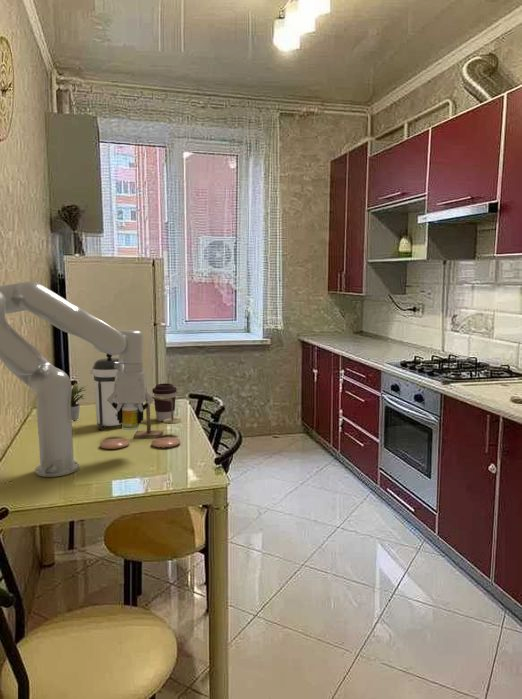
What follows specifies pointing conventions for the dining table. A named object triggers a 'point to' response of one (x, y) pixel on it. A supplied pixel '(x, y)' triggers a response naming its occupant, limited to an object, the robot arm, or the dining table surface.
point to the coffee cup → (164, 406)
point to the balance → (150, 433)
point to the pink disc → (114, 443)
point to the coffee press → (105, 391)
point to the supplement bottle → (130, 417)
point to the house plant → (74, 406)
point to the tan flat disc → (166, 442)
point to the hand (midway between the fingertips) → (130, 422)
